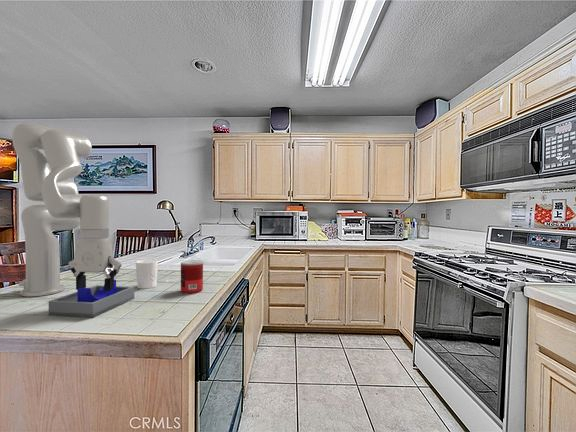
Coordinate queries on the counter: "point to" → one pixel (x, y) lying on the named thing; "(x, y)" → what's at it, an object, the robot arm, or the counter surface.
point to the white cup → (146, 273)
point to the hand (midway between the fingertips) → (95, 289)
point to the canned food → (191, 276)
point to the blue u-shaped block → (87, 296)
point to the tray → (90, 303)
